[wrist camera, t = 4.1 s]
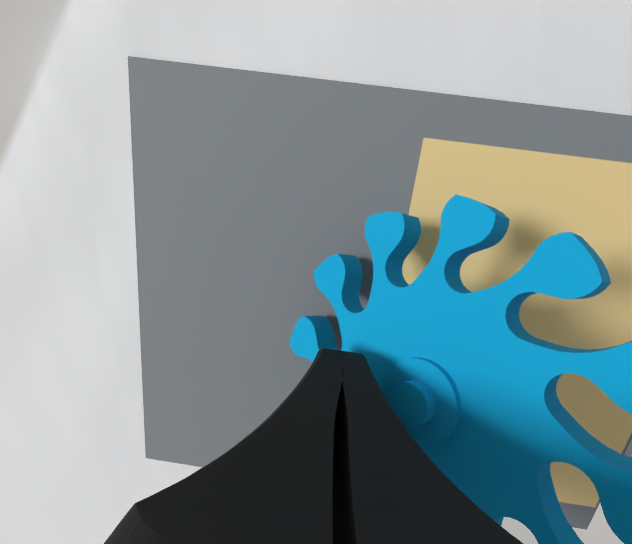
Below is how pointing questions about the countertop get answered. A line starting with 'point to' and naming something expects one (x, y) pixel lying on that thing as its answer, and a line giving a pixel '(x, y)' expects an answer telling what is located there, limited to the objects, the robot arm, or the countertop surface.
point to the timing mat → (348, 233)
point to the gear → (481, 364)
